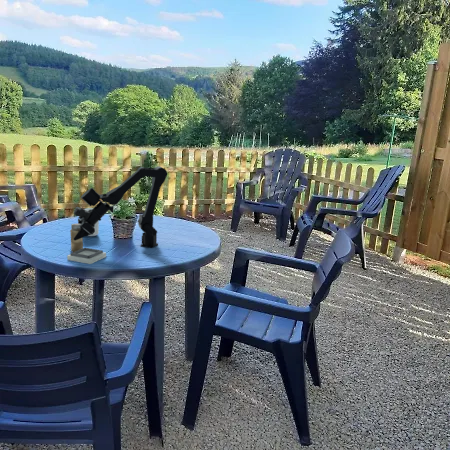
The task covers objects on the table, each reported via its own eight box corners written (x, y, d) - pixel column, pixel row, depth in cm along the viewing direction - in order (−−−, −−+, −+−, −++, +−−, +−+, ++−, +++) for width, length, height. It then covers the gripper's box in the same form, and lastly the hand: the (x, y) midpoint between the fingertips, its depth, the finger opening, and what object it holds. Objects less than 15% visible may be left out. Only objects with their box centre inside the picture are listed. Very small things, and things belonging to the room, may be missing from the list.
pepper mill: (85, 249, 198) (84, 224, 195) (78, 252, 193) (77, 226, 190) (76, 248, 200) (75, 222, 197) (68, 251, 195) (67, 225, 192)
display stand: (106, 256, 190) (105, 250, 189) (90, 264, 180) (90, 257, 179) (83, 253, 194) (83, 246, 193) (67, 259, 184) (67, 253, 183)
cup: (89, 239, 215) (88, 212, 212) (78, 236, 220) (77, 209, 216) (102, 236, 222) (101, 209, 219) (92, 233, 227) (91, 207, 223)
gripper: (82, 197, 201) (58, 221, 199) (86, 205, 184) (60, 231, 183) (100, 212, 206) (77, 236, 204) (105, 221, 189) (80, 247, 188)
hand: (73, 237), depth 195 cm, fingers open, 9 cm apart
